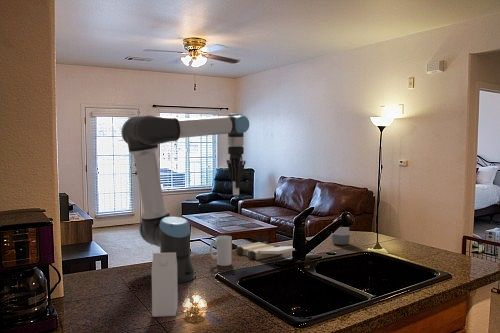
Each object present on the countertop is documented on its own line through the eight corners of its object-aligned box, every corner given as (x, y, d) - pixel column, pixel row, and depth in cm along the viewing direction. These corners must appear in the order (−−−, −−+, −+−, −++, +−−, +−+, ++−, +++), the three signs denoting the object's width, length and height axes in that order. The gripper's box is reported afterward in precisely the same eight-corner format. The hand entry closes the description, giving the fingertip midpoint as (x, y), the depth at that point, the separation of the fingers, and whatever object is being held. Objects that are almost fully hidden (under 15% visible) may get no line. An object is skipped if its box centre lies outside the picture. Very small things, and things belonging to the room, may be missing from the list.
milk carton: (155, 307, 132) (154, 250, 131) (177, 307, 133) (177, 249, 132) (152, 317, 125) (151, 256, 124) (175, 316, 126) (174, 255, 125)
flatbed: (234, 252, 199) (234, 245, 199) (262, 247, 209) (262, 240, 209) (254, 260, 186) (254, 252, 186) (282, 254, 197) (282, 246, 196)
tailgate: (257, 250, 187) (277, 251, 176) (280, 246, 195) (300, 246, 184) (258, 253, 187) (278, 253, 175) (280, 248, 195) (301, 248, 184)
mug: (229, 261, 185) (228, 234, 184) (234, 265, 179) (233, 238, 178) (207, 263, 181) (207, 236, 181) (211, 267, 175) (211, 240, 174)
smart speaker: (328, 242, 220) (328, 216, 219) (344, 241, 222) (344, 216, 221) (336, 246, 211) (336, 220, 210) (352, 245, 213) (353, 219, 212)
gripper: (250, 146, 194) (250, 195, 195) (234, 146, 204) (234, 192, 206) (237, 146, 189) (237, 196, 191) (222, 146, 200) (222, 194, 201)
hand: (235, 194), depth 198 cm, fingers closed
